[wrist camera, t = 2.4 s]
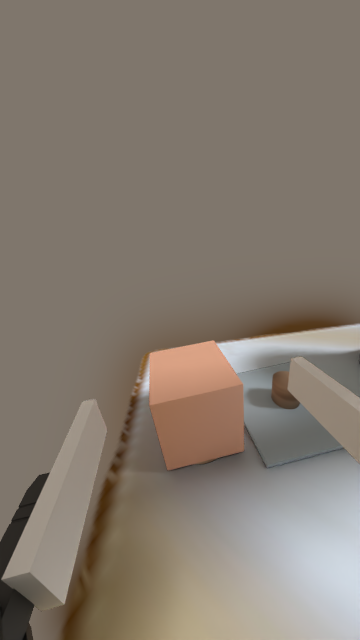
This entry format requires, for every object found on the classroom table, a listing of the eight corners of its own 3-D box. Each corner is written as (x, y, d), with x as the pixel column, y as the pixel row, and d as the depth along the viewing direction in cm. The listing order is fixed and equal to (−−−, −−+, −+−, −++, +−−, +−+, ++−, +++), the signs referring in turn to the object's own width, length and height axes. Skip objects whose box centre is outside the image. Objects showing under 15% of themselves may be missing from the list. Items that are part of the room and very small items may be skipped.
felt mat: (294, 363, 38) (295, 360, 38) (386, 436, 23) (387, 433, 23) (220, 379, 37) (220, 377, 36) (267, 468, 22) (267, 465, 22)
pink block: (218, 393, 33) (213, 340, 29) (244, 451, 24) (243, 384, 19) (162, 406, 32) (149, 353, 28) (167, 470, 23) (149, 405, 19)
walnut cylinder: (280, 386, 32) (282, 367, 31) (305, 400, 29) (308, 380, 27) (266, 397, 30) (266, 378, 29) (290, 413, 27) (292, 393, 26)
